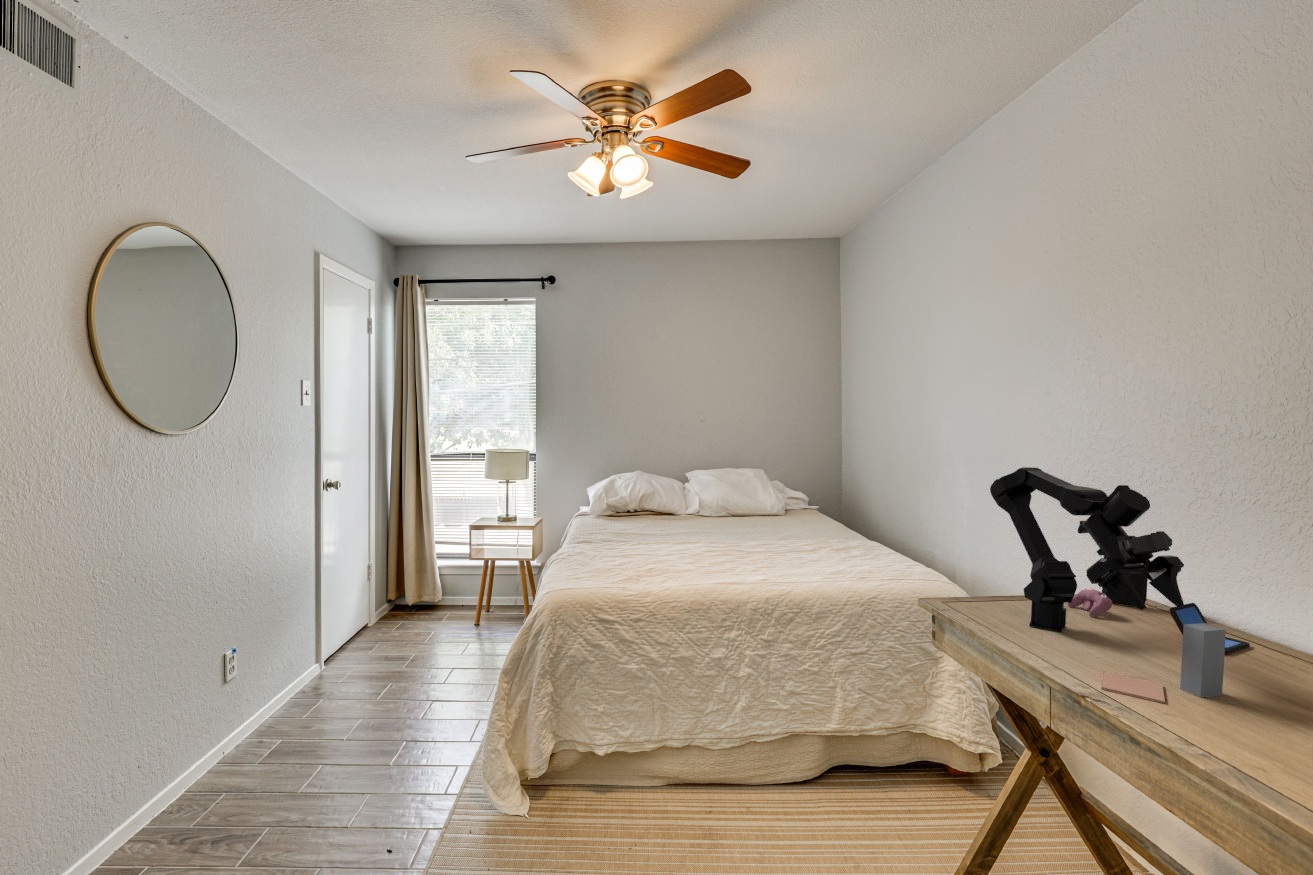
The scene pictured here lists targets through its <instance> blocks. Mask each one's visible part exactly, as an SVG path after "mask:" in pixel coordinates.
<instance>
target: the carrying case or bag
mask: <svg viewBox="0 0 1313 875" xmlns="http://www.w3.org/2000/svg"><path fill="white" fill-rule="evenodd" d="M1103 558H1106V556H1105V555H1103ZM1146 561H1147V563H1149V562H1151V561H1152V560H1151V559H1147V560H1146ZM1148 580H1149V579H1147V578H1146V577H1145V576H1144V575H1143V573H1135V574H1130V581H1131V583H1132V584H1133V586H1134V587H1135V589H1136V590H1137V592H1138V594H1139V595H1140V597H1141V598H1142V600H1143V602H1144V604H1145V603H1146V601H1147V596H1148ZM1101 592H1102V593H1104V594H1105V595H1106V596H1107V597H1108V598H1109V599H1110V600H1111V601H1112V605H1113V604H1114V605H1121V606H1129V607H1135V606H1134V605H1132V604H1131V603H1129V602H1127V601H1126V600H1124V599H1123V598H1121V597H1119V596H1118V595H1116V594H1114V593H1112V592H1111V591H1109V590H1107V589H1105V588H1103V587H1101Z"/></svg>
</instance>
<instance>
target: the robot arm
mask: <svg viewBox="0 0 1313 875" xmlns="http://www.w3.org/2000/svg"><path fill="white" fill-rule="evenodd" d="M989 490H990V493H991V497H992V498H993V500H994V502H995V503H996V505H997V506H998V507H999V508H1001V509H1002V510H1003V511H1005V512H1006V513H1008V515H1009V517H1010V520H1011V521H1012V524H1013V526H1014V528H1015V531H1016V532H1017V534H1018V536H1019V538H1020V541H1021V543H1022V545H1023V547H1024V549H1025V551H1026V553H1027V555H1028V558H1029V560H1030V562H1031V570H1030V576H1029V577H1030V579H1031V581H1030V582H1029V583H1028V584H1027V585H1026V586H1025V587H1024V588H1023V594H1024V598H1025V599H1027V600H1030V601H1031V609H1030V610H1031V612H1030V622H1029V623H1028V624H1029V626H1030V627H1033V628H1036V629H1037V628H1038V629H1042V630H1047V631H1048V630H1049V631H1054V632H1060V633H1062V632H1063V629H1066V625H1067V608H1066V607H1064V606H1065V604H1068V603H1071V602H1072V600H1073V597H1074V596H1075V595H1076V592H1077V588H1078V583H1077V579H1076V578H1077V575H1076V574H1075V573H1074V572H1073V570H1072V566H1071V564H1070V563H1069V561H1067V560H1059V559H1057V558H1056V557H1055V555H1054V553H1053V551H1052V549H1051V547H1050V545H1049V543H1048V541H1047V539H1046V537H1045V535H1044V532H1043V531H1042V529H1041V527H1040V525H1039V523H1038V521H1037V519H1036V517H1035V515H1034V513H1033V510H1032V509H1031V506H1030V505H1031V502H1032V501H1031V500H1032V493H1034V492H1035V491H1036V490H1037V491H1039V492H1041V493H1042V494H1045V495H1047V496H1049V497H1051V498H1053V499H1055V500H1056V501H1058V502H1059V505H1060V506H1061V508H1062V509H1064V510H1065V511H1066V512H1068V513H1069V514H1070V515H1072V516H1085V517H1086V516H1089V517H1088V518H1087V519H1085V520H1080V521H1079V526H1078V528H1077V533H1078V534H1079V535H1080V534H1088V535H1090V536H1091V538H1092V540H1093V541H1094V542H1095V544H1096V545H1097V546H1098V548H1099V549H1098V550H1096V553H1097V554H1098V556H1100V557H1101V556H1104V555H1105V556H1106V558H1104V557H1101V558H1100V559H1098V560H1097V561H1096V562H1095V563H1093V564H1092V565H1091V566H1090V567H1088V568H1087V569H1086V577H1087V579H1088V580H1089V582H1090V583H1091V584H1092V585H1094V584H1095V585H1096V584H1097V585H1098V587H1099V588H1102V587H1103V588H1105V589H1107V590H1109V591H1111V592H1112V593H1114V594H1116V595H1118V596H1119V597H1121V598H1123V599H1124V600H1126V601H1127V602H1129V603H1131V604H1132V605H1134V606H1133V607H1136V608H1137V609H1138V610H1141V611H1144V610H1145V609H1147V606H1146V604H1145V603H1144V602H1143V600H1142V598H1141V597H1140V595H1139V594H1138V592H1137V590H1136V589H1135V587H1134V586H1133V584H1132V583H1131V581H1130V574H1135V573H1143V575H1144V576H1145V577H1146V578H1147V579H1148V580H1149V582H1148V583H1149V585H1151V586H1152V587H1153V588H1154V589H1155V590H1156V591H1158V592H1159V593H1160V594H1161V595H1162V596H1163V597H1164V598H1166V599H1167V600H1168V601H1169V602H1170V603H1172V604H1173V605H1174V606H1175V607H1176V606H1177V607H1178V608H1181V607H1183V606H1184V605H1185V603H1184V600H1183V597H1182V593H1181V591H1180V588H1179V584H1178V580H1177V577H1178V574H1179V573H1180V572H1182V568H1184V566H1185V564H1184V563H1183V561H1182V560H1181V559H1180V558H1179V556H1177V555H1176V556H1175V555H1158V556H1156V557H1154V554H1155V553H1159V552H1168V551H1170V550H1171V549H1170V547H1172V545H1173V539H1172V538H1171V537H1170V536H1169V535H1168V533H1166V532H1165V531H1163V530H1161V531H1160V530H1159V531H1155V532H1151V533H1150V534H1143V535H1140V536H1136V535H1128V533H1127V532H1126V531H1125V530H1124V528H1123V527H1125V528H1126V527H1130V526H1131V525H1133V524H1134V523H1135V522H1136V521H1137V520H1138V519H1139V518H1140V517H1142V516H1143V515H1144V514H1146V512H1147V511H1149V509H1150V508H1151V502H1150V501H1149V499H1148V498H1147V496H1144V495H1142V494H1141V493H1140V492H1139V491H1137V490H1134V489H1131V488H1130V486H1129V485H1127V484H1121V485H1120V484H1119V485H1117V486H1116V487H1115V488H1114V490H1113V491H1112V492H1111V493H1110V494H1109V495H1107V493H1106V491H1104V490H1102V489H1098V488H1093V487H1087V486H1080V485H1076V484H1072V483H1070V482H1067V481H1065V480H1063V479H1062V478H1059V477H1057V476H1054V475H1052V474H1050V473H1048V472H1045V471H1043V470H1042V469H1041V468H1039V467H1027V466H1026V467H1025V466H1024V467H1023V466H1022V467H1019V468H1018V469H1017V470H1015V471H1014V472H1012V473H1008V474H1007V475H1003V476H1001V477H1000V478H997V479H994V481H993V483H992V484H991V485H990V489H989ZM1153 557H1154V558H1153ZM1152 558H1153V559H1152ZM1147 559H1149V560H1150V561H1151V562H1149V563H1147V561H1146V560H1147ZM1151 559H1152V560H1151ZM1064 603H1065V604H1064Z"/></svg>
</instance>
